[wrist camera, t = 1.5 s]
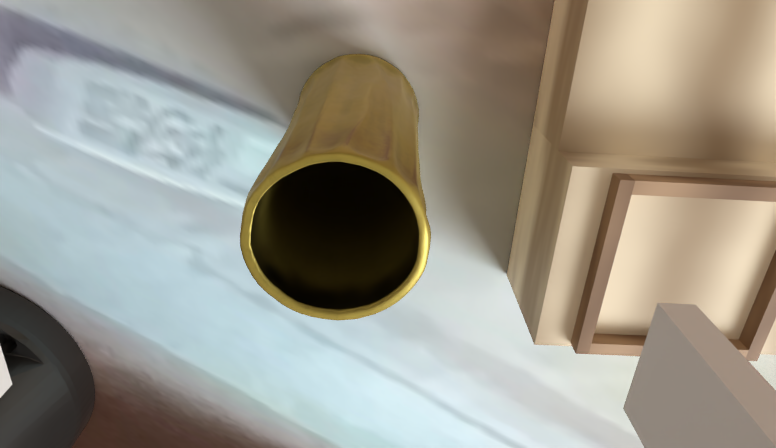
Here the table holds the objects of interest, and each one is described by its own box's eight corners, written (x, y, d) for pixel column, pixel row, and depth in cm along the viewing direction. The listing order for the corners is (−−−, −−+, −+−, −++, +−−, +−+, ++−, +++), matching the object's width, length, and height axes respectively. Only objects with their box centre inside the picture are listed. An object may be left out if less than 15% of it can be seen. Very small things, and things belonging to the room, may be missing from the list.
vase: (273, 113, 27) (176, 240, 15) (358, 25, 26) (332, 82, 13) (358, 193, 29) (337, 368, 16) (442, 116, 28) (494, 246, 15)
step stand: (506, 274, 32) (538, 355, 25) (581, -156, 23) (663, -207, 16) (706, 283, 32) (790, 365, 25) (859, -136, 23) (1050, -179, 16)
